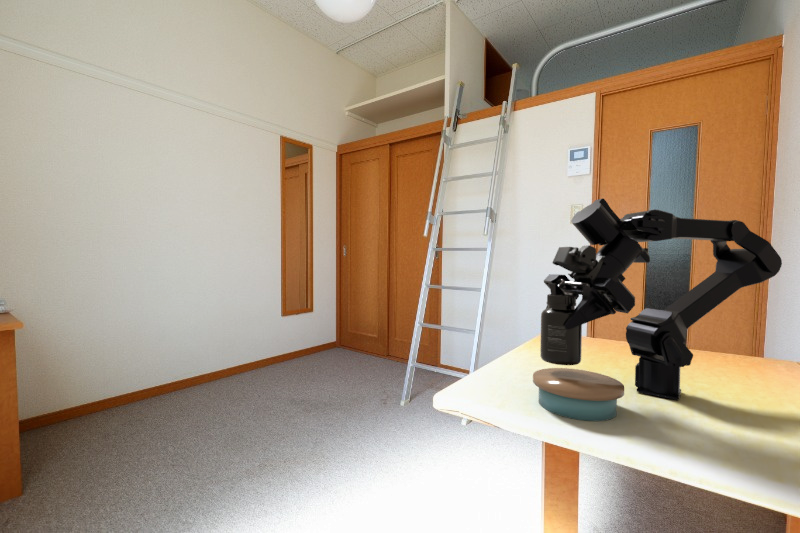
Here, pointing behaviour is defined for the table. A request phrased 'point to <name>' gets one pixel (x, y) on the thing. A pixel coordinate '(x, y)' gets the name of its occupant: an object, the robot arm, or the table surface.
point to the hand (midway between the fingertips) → (554, 324)
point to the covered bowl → (578, 393)
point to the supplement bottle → (560, 331)
